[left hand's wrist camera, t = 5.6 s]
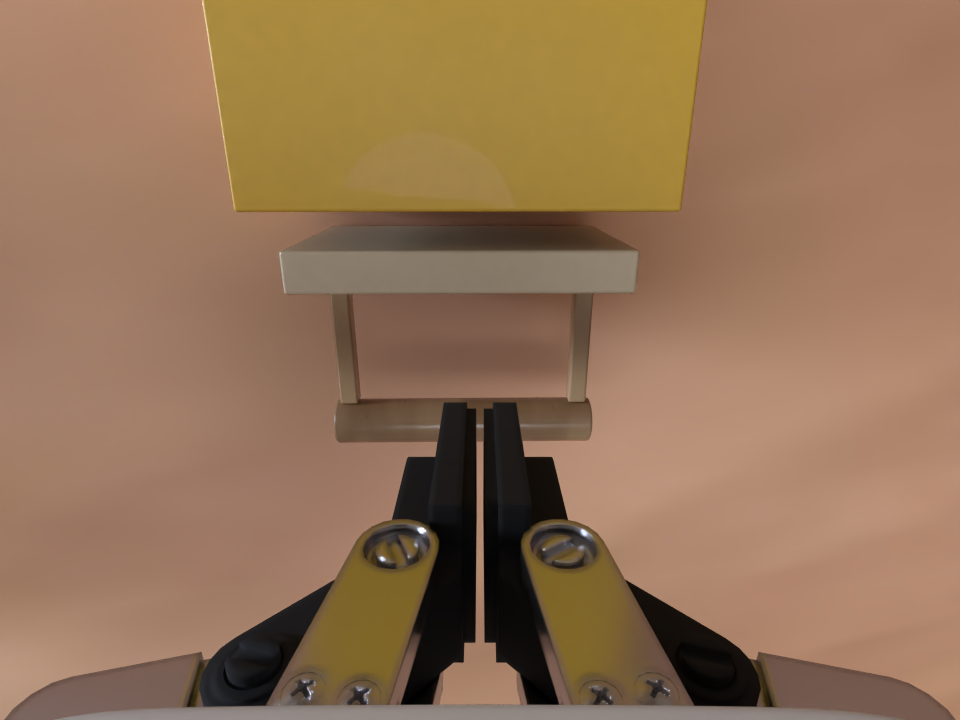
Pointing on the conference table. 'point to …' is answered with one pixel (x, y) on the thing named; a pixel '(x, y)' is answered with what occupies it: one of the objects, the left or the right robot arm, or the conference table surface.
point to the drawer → (459, 270)
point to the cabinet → (456, 103)
